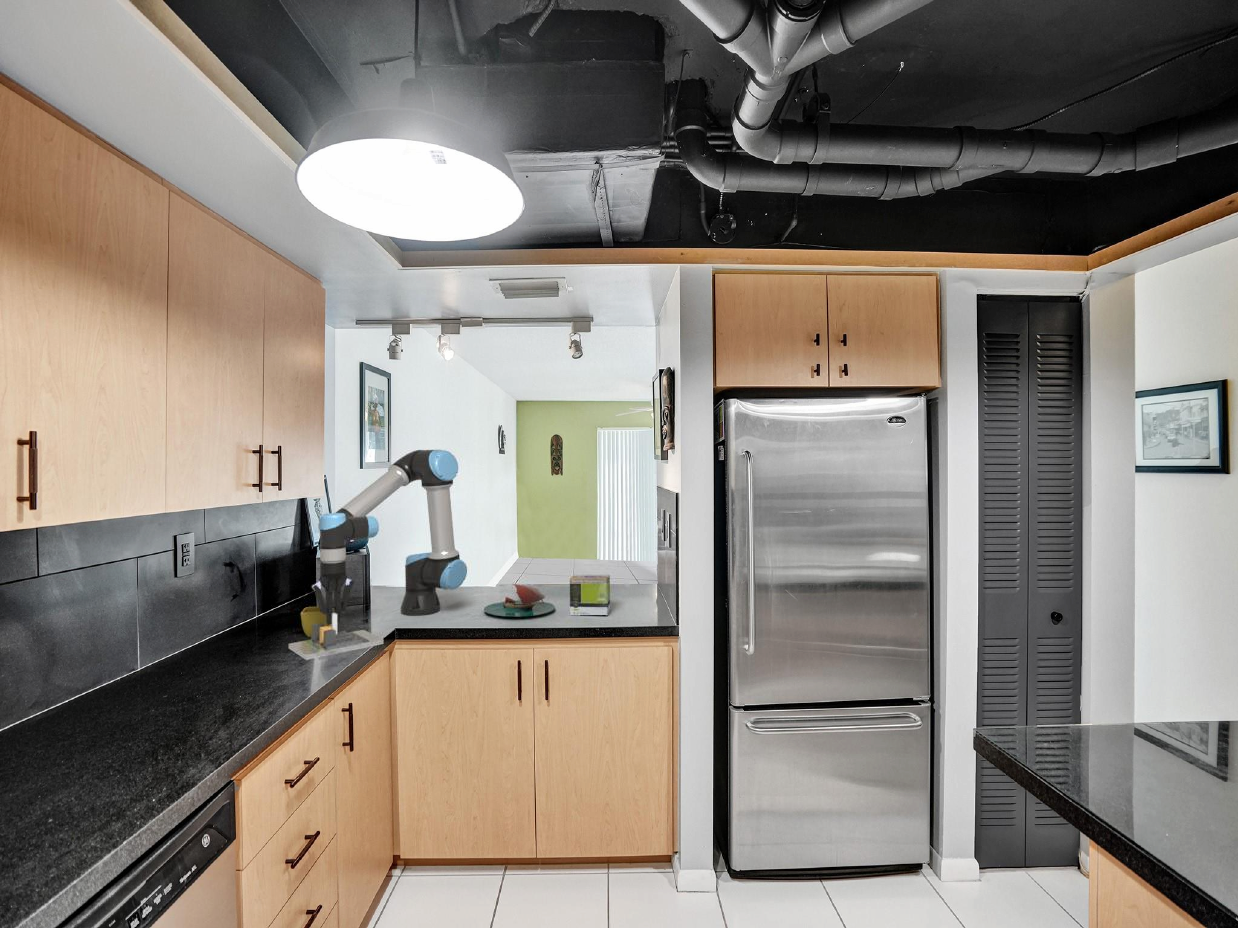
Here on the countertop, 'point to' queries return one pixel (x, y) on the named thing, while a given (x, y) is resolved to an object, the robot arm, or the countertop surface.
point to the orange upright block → (323, 632)
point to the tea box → (589, 594)
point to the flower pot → (312, 619)
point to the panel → (343, 644)
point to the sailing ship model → (521, 604)
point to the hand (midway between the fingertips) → (333, 633)
